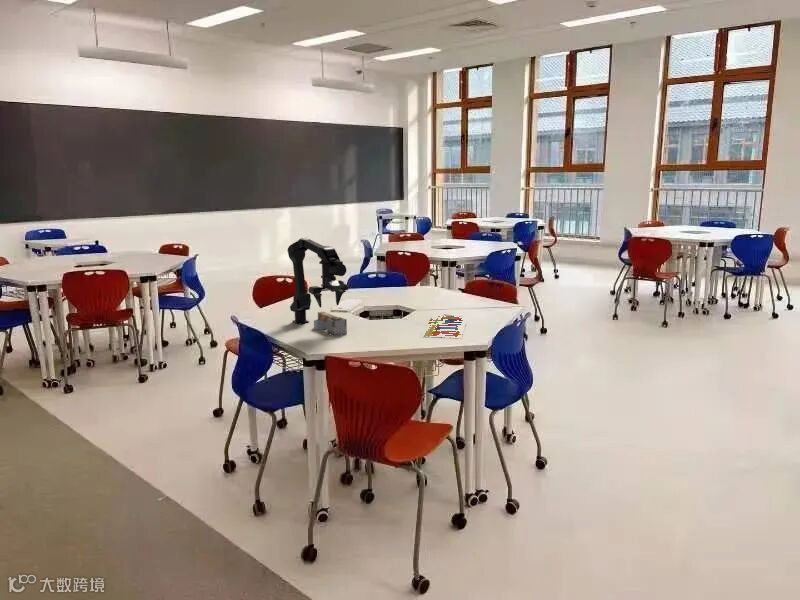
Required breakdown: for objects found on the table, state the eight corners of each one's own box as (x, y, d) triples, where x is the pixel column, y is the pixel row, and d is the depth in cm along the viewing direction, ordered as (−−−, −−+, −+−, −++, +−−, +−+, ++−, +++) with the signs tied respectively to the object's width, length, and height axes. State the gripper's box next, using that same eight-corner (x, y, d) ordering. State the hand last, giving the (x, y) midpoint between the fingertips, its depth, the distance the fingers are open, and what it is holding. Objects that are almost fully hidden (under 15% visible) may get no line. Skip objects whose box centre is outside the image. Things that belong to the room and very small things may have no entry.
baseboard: (365, 302, 357) (346, 301, 359) (365, 297, 356) (346, 296, 359) (351, 313, 327) (330, 312, 329) (351, 308, 327) (330, 307, 329)
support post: (314, 328, 292) (313, 320, 291) (328, 325, 297) (328, 317, 296) (317, 329, 289) (317, 321, 288) (332, 327, 293) (332, 319, 293)
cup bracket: (327, 333, 282) (327, 318, 281) (340, 331, 286) (340, 317, 284) (333, 336, 277) (333, 321, 276) (346, 333, 281) (346, 319, 280)
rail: (317, 319, 293) (317, 312, 292) (323, 318, 295) (323, 311, 294) (335, 326, 279) (335, 319, 278) (341, 325, 280) (341, 318, 280)
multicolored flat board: (432, 312, 318) (469, 313, 315) (432, 316, 319) (469, 318, 315) (419, 332, 275) (461, 335, 271) (419, 338, 275) (461, 340, 272)
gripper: (318, 278, 270) (319, 311, 273) (353, 274, 281) (354, 306, 284) (307, 274, 279) (308, 307, 282) (342, 271, 290) (342, 303, 293)
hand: (329, 306), depth 285 cm, fingers open, 9 cm apart
